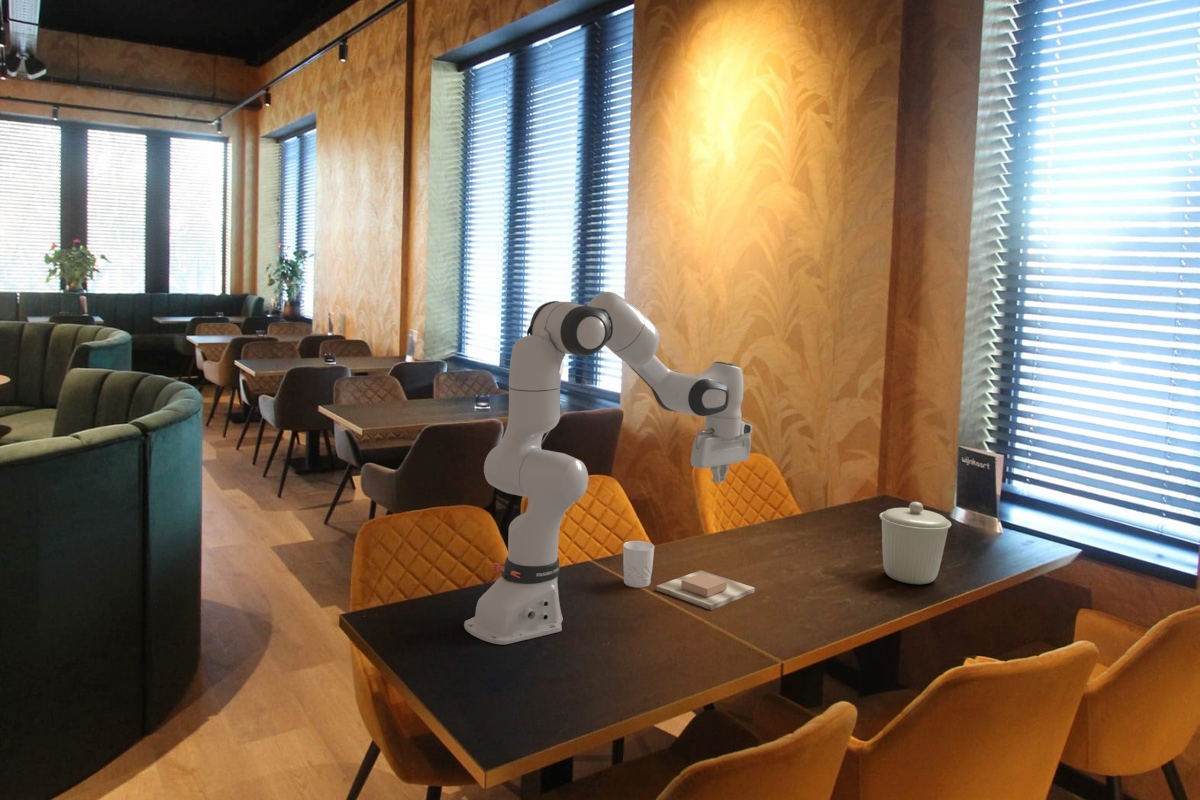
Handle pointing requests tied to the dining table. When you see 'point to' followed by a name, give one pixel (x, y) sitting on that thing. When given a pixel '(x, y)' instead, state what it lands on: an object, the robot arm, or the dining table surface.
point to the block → (704, 585)
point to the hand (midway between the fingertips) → (719, 481)
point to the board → (711, 602)
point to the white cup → (637, 563)
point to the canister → (913, 543)
